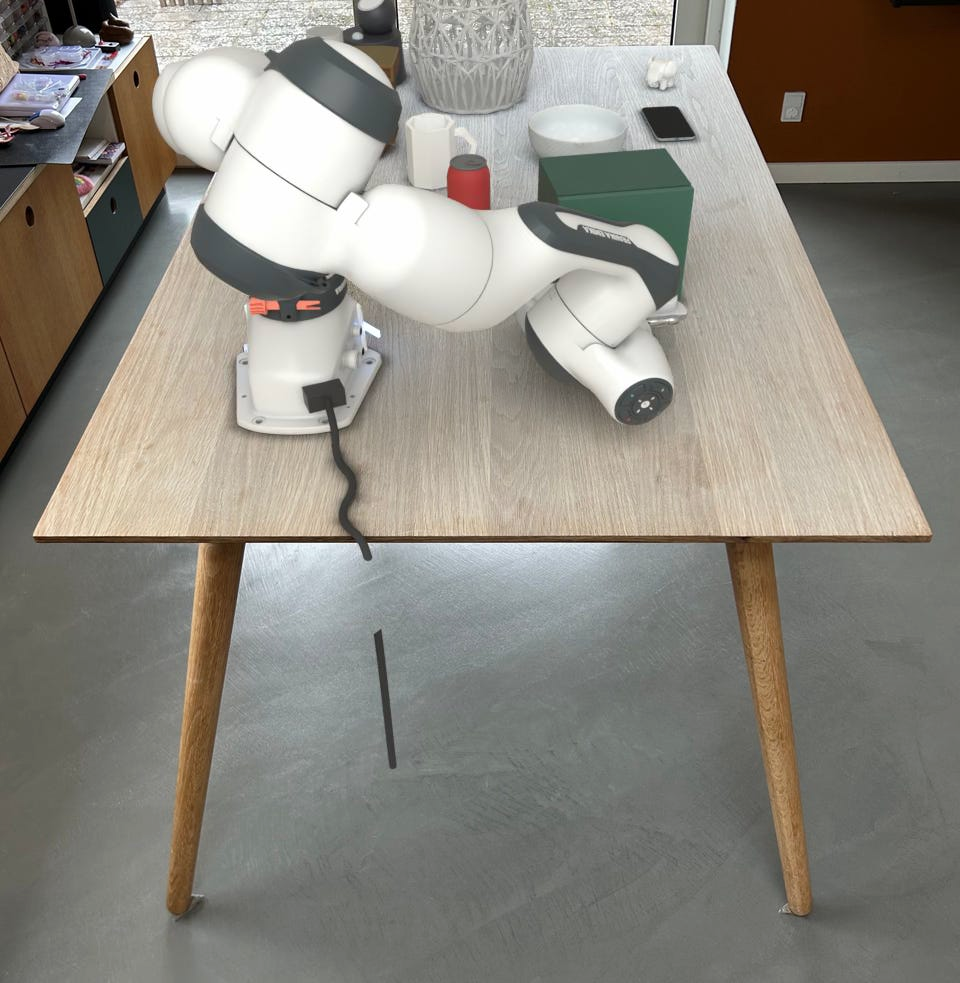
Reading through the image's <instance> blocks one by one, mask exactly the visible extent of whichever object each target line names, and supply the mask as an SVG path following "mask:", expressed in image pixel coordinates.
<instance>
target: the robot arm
mask: <svg viewBox="0 0 960 983" xmlns="http://www.w3.org/2000/svg"><path fill="white" fill-rule="evenodd" d="M151 98H152V99H151V104H152V105H151V106H152V114H153V118H154V122H155V125H156V128H157V129H158V130H157V131H158V132H159V133H160V135H161V137H162V139H163V140H164V141H165V143H166V144H167V145H168V146H169V147H170V148H171V149H172V150H173V151H174V152H175V153H177V154H178V155H181V156H185V157H186V158H188V160H191V162H193V163H194V164H196V165H197V166H199V167H202V168H204V169H206V170H208V171H211V172H214V173H216V174H215V176H214V178H213V180H212V183H211V186H210V189H209V191H208V194H207V196H206V199H205V202H202V203H200V204H199V205H198V207H197V211H196V213H195V217H194V219H193V224H192V227H191V232H190V239H189V243H190V246H191V248H192V250H193V252H194V256H195V257H196V259H197V260H198V262H199V263H200V264H201V265H202V266H203V267H204V268H205V269H206V270H207V271H208V272H210V274H211V275H212V276H213V277H214V278H215V279H216V280H217V281H219V282H220V283H221V284H222V285H224V286H226V287H227V288H229V289H230V290H232V291H234V292H236V293H239V294H241V295H244V296H248V300H247V302H246V303H245V304H244V305H243V308H244V313H245V317H246V332H247V333H246V339H247V341H246V342H247V343H243V344H242V352H240V353H239V354H237V356H236V423H237V425H238V426H239V427H241V428H242V429H245V430H249V431H252V432H255V433H261V434H268V435H284V436H285V435H288V436H289V435H291V436H292V435H294V436H295V435H296V436H297V435H314V434H323V433H329V432H330V442H331V452H332V456H333V459H334V462H335V464H336V466H337V468H338V469H339V470H340V471H341V472H342V473H343V475H344V476H345V477H346V479H347V481H348V488H347V490H346V493H345V495H344V497H343V499H342V500H341V503H340V506H339V508H338V519H339V523H340V526H341V528H342V529H344V531H345V532H346V533H348V534H349V535H350V536H351V537H352V538H353V539H354V540H355V542H356V543H357V545H358V547H359V549H360V552H361V555H362V558H363V560H364V561H366V562H371V561H372V560H373V554H372V551H371V548H370V546H369V544H368V541H367V539H366V537H365V536H364V535H363V533H361V531H360V530H358V528H356V527H355V526H354V525H353V523H351V521H350V520H349V518H348V512H349V511H348V510H349V508H350V506H351V504H352V502H353V500H354V498H355V496H356V494H357V491H358V490H357V489H358V480H357V477H356V474H355V473H354V472H353V470H352V469H351V468H350V467H349V466H348V465H347V463H346V462H345V460H344V458H343V456H342V453H341V452H342V451H341V444H340V433H339V430H340V429H344V428H345V427H348V426H350V425H351V424H352V422H353V420H354V418H355V416H356V414H357V412H358V410H359V409H360V406H361V405H362V402H364V399H365V398H366V395H367V393H368V391H369V390H370V387H371V385H372V383H373V381H374V379H375V377H376V376H377V373H378V371H379V370H380V368H381V367H382V366H381V365H382V364H383V361H382V356H381V354H380V353H379V352H378V351H375V350H373V349H371V348H369V347H368V342H367V335H366V332H368V333H369V334H370V335H373V336H374V337H376V338H378V339H379V338H381V331H380V330H379V329H378V328H376V327H374V326H372V325H371V324H369V323H367V322H365V321H364V314H363V308H362V305H361V304H360V303H359V302H358V301H357V300H356V299H355V298H354V297H353V296H352V295H351V294H350V293H349V291H348V289H349V288H348V281H349V282H351V283H352V284H353V285H354V286H355V287H357V289H360V290H361V291H362V292H363V293H365V294H366V295H367V296H369V297H370V298H372V299H373V300H375V301H376V302H378V303H379V304H381V305H383V306H384V307H386V308H388V309H390V310H391V311H393V312H395V313H397V314H399V315H401V316H403V317H405V318H407V319H410V320H412V321H415V322H418V323H421V324H422V325H426V326H428V327H430V328H434V329H437V330H440V331H443V332H447V333H460V334H463V333H474V332H481V331H485V330H488V329H490V328H493V327H495V326H497V325H499V324H501V323H502V322H503V321H505V320H506V319H507V318H509V317H511V316H512V315H513V314H514V315H515V317H516V320H517V322H518V324H519V326H520V329H522V332H523V333H524V335H525V341H526V343H527V346H528V348H529V351H530V352H531V354H532V356H533V357H534V360H536V361H537V364H538V365H539V366H540V367H541V369H542V370H543V371H545V372H546V374H547V375H549V376H550V377H551V378H552V379H554V380H555V381H556V382H558V383H560V384H561V385H563V386H566V387H567V388H568V387H569V388H573V389H576V390H581V391H591V392H592V394H594V396H596V398H597V399H598V400H599V402H600V403H601V404H602V406H603V407H604V409H605V410H606V411H607V413H608V414H609V415H610V416H611V418H613V419H614V420H615V421H616V422H617V423H619V424H620V425H624V426H630V427H631V426H632V427H633V426H640V425H644V424H646V423H649V422H650V421H652V420H654V419H656V418H657V417H658V416H659V415H661V414H662V413H663V412H664V411H665V410H666V409H667V408H668V407H669V406H670V405H671V403H672V402H673V399H674V395H675V390H676V389H675V380H674V376H673V372H672V369H671V366H670V362H669V360H668V359H667V355H666V354H665V352H664V349H663V348H662V346H661V343H660V342H659V341H658V339H657V338H656V337H655V336H654V335H653V331H652V328H660V327H661V328H662V327H666V326H673V325H678V324H680V322H681V321H684V320H685V319H687V317H688V315H689V314H688V309H687V308H686V307H685V305H684V304H683V303H682V302H681V301H679V302H678V301H677V299H678V297H677V292H678V288H679V282H680V273H681V264H680V261H679V259H678V257H677V256H676V254H675V252H674V251H673V249H672V248H671V246H670V245H669V244H668V243H667V241H666V240H665V239H664V238H663V237H662V236H661V235H659V234H658V233H657V232H655V231H654V230H652V229H651V228H649V227H646V226H645V225H643V224H641V223H638V222H632V221H612V220H609V219H605V218H602V217H598V216H595V215H591V214H588V213H584V212H581V211H577V210H574V209H570V208H567V207H563V206H559V205H555V204H550V203H546V202H540V201H538V200H534V201H530V202H526V203H525V202H524V203H521V204H518V205H517V206H516V205H515V206H511V207H506V208H505V207H504V208H498V209H490V210H476V209H471V208H469V207H467V206H465V205H463V204H461V203H459V202H457V201H455V200H452V199H450V198H448V197H447V196H445V195H443V194H440V193H437V192H434V191H432V190H429V189H424V188H417V187H414V186H413V185H412V186H411V185H407V184H406V185H405V184H400V183H383V184H378V185H375V186H373V187H370V188H368V189H367V188H366V187H367V186H368V183H369V182H370V179H371V178H372V176H373V173H374V172H375V169H376V167H377V165H378V163H379V161H380V158H381V157H382V155H383V154H382V151H383V149H384V147H385V144H390V143H391V141H392V139H393V136H394V134H395V131H396V128H397V126H398V124H399V123H400V119H401V116H402V111H403V104H402V101H401V97H400V95H399V91H398V90H397V89H396V90H395V89H394V88H393V87H392V85H391V83H390V81H389V79H388V77H387V76H386V74H385V73H384V72H383V70H382V69H381V68H380V67H379V65H378V64H377V63H376V62H375V61H374V60H373V59H372V58H370V57H369V56H368V55H366V54H365V53H364V52H362V51H360V50H359V49H357V48H355V47H353V46H351V45H348V44H345V43H342V42H338V41H334V40H325V39H323V38H321V37H319V36H317V37H311V38H307V37H306V38H303V39H298V40H295V41H293V42H292V43H290V44H289V45H288V46H287V47H284V49H282V50H281V51H280V52H277V51H276V50H274V49H271V48H270V49H269V50H267V51H262V50H259V49H252V48H247V47H241V46H219V47H213V48H209V49H206V50H202V51H201V52H198V53H197V54H195V55H193V56H191V57H190V58H186V59H182V60H177V61H174V62H170V63H167V64H165V66H164V67H163V69H162V70H161V72H160V73H159V75H158V77H157V79H156V81H155V84H154V87H153V92H152V97H151ZM381 154H382V155H381ZM559 277H560V279H559V281H558V282H557V283H552V282H553V281H555V280H556V279H558V278H559ZM550 283H551V284H550ZM382 630H383V629H382V628H380V629H379V630H377V631H376V632H375V633H373V641H374V648H375V649H374V650H375V656H376V664H377V671H378V672H377V673H378V680H379V690H380V698H381V706H382V715H383V716H382V717H383V724H384V734H385V742H386V751H387V758H388V768H389V769H391V770H395V769H397V766H398V764H397V754H396V747H395V739H394V738H395V737H394V728H393V718H392V717H393V716H392V709H391V708H392V707H391V699H390V688H389V682H388V681H389V680H388V671H387V663H386V654H385V645H384V639H383V638H384V637H383V631H382Z"/></svg>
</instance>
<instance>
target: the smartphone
mask: <svg viewBox="0 0 960 983" xmlns="http://www.w3.org/2000/svg"><path fill="white" fill-rule="evenodd" d="M640 112H641V114H642V116H643V118H644V120H645V122H646V123H647V125H648V127H649V129H650V131H651V133H652V134H653V136H654V138H655V140H656V141H658V142H674V141H692V140H694V139H695V138H696V133H695V132H694V130H693V129H692V127H691V125H690V124H689V122H688V121H687V119H686V117H685V116H684V114H683V113H682V111H681V109H680V108H679V106H676V105H666V106H665V105H664V106H663V105H662V106H645V107H642V108H641V111H640Z"/></svg>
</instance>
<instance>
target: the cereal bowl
mask: <svg viewBox="0 0 960 983" xmlns="http://www.w3.org/2000/svg"><path fill="white" fill-rule="evenodd" d="M527 125H528V126H527V127H528V128H527V129H528V137H529V143H530V145H531V147H532V149H533V150H534V152H535V153H536V154H537V155H538V156H539V158H542V157H555V156H568V155H581V154H594V153H607V152H620V151H622V149H623V147H624V144H625V141H626V136H627V131H628V123H627V121H626V119H625V118H624V117H623V116H622V115H621V114H620V113H618V112H616V111H615V110H614V111H613V110H612V109H609V108H607V107H603V106H598V105H594V104H586V103H585V104H584V103H566V104H558V105H553V106H548V107H546V108H542V109H539V110H538V111H537V112H535V113H533V114H532V115H531V117H530V118H529V119H528V124H527Z"/></svg>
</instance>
